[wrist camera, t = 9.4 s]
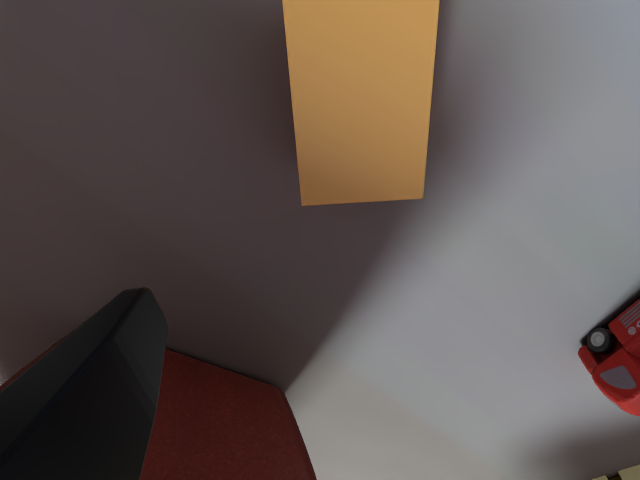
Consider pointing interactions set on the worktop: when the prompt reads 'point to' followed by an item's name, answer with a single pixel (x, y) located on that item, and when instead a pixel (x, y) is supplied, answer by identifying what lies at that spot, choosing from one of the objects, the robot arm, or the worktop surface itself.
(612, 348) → the toy fire truck
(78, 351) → the robot arm
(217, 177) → the worktop surface
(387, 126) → the orange brick
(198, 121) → the worktop surface
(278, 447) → the plant pot
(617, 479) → the slatted curved stool
